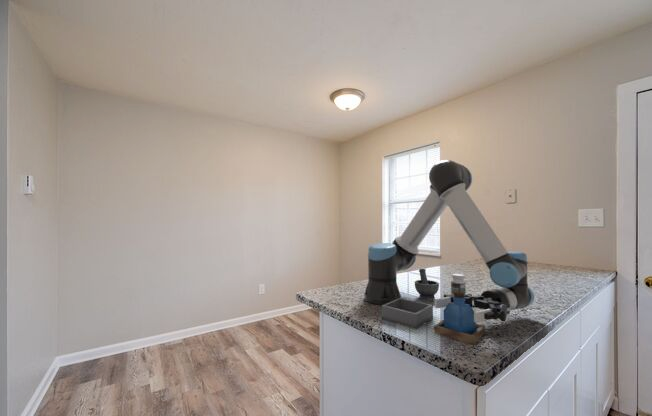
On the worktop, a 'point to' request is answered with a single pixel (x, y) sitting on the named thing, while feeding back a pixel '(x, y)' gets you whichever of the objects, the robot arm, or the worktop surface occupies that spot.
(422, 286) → the mortar and pestle
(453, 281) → the pill bottle
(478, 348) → the worktop surface
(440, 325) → the holder
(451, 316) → the perfume bottle
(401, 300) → the bin
